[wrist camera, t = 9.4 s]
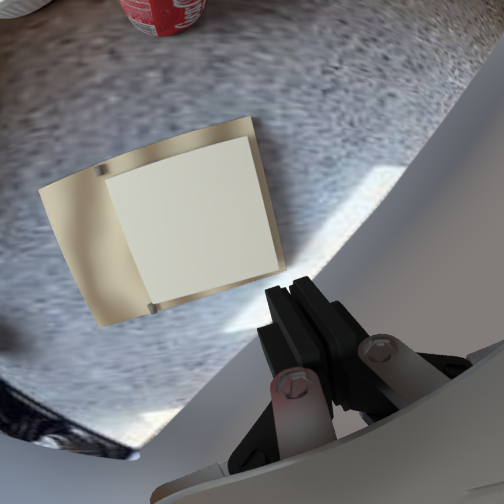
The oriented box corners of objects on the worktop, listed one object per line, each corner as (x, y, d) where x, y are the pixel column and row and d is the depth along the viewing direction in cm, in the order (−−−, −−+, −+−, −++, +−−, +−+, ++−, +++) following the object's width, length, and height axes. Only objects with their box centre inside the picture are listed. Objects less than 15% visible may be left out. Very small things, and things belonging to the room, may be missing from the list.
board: (247, 116, 27) (252, 115, 25) (283, 265, 33) (289, 273, 31) (43, 187, 25) (35, 191, 23) (101, 321, 31) (98, 331, 29)
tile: (109, 177, 25) (245, 135, 25) (154, 297, 29) (276, 264, 30) (104, 180, 24) (247, 135, 24) (153, 304, 28) (279, 269, 29)
